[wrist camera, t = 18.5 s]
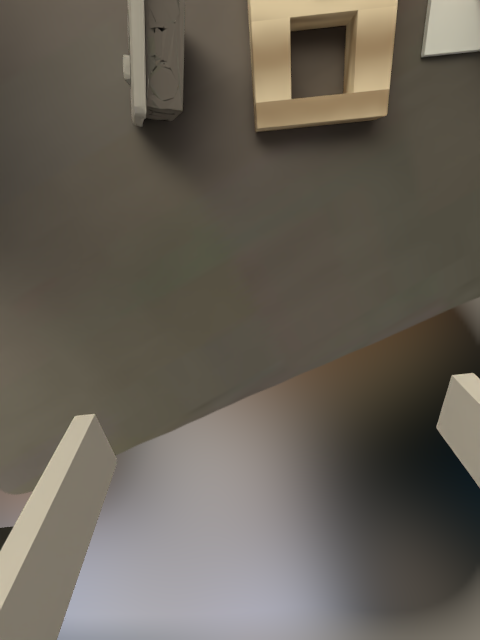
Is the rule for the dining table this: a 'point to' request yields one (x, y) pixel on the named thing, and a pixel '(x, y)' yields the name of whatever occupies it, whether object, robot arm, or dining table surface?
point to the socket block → (359, 70)
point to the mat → (451, 27)
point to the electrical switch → (155, 59)
